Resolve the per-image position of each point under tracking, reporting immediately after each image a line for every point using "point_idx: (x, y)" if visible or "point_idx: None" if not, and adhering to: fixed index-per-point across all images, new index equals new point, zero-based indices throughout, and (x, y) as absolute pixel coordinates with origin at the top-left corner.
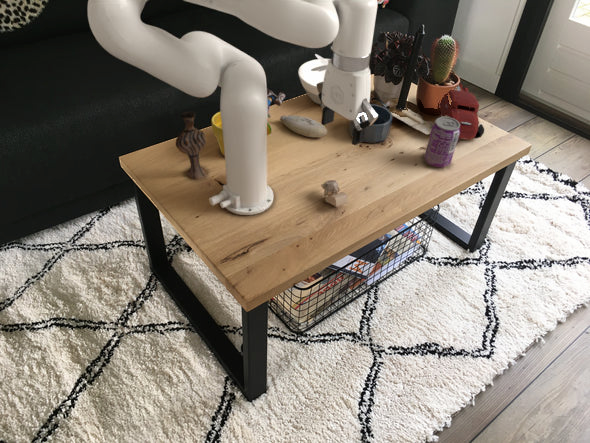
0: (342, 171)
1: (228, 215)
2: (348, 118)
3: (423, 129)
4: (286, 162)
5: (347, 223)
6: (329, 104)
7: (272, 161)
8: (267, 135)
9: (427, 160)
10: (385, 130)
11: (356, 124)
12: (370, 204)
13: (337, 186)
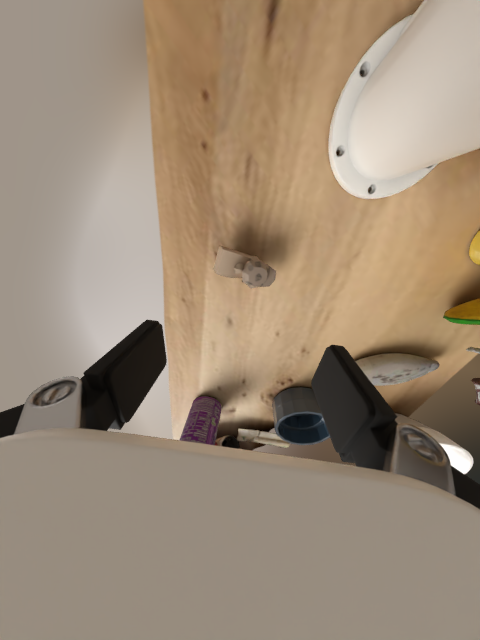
0: (278, 328)
1: (409, 5)
2: (6, 445)
3: (246, 432)
4: (368, 288)
5: (193, 239)
6: (378, 556)
7: (395, 272)
8: (445, 313)
9: (210, 399)
10: (274, 414)
11: (58, 409)
12: (203, 299)
13: (242, 279)
